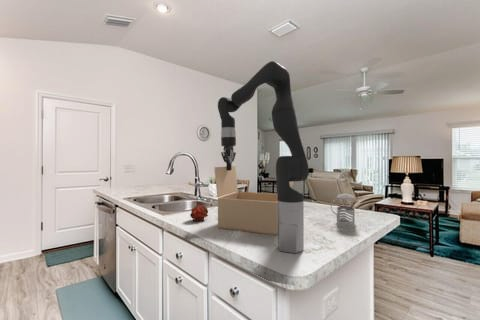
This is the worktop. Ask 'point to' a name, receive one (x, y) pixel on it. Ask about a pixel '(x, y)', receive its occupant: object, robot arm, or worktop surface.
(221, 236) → the worktop surface
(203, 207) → the dragon fruit
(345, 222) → the french press
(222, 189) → the flap left
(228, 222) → the carton
